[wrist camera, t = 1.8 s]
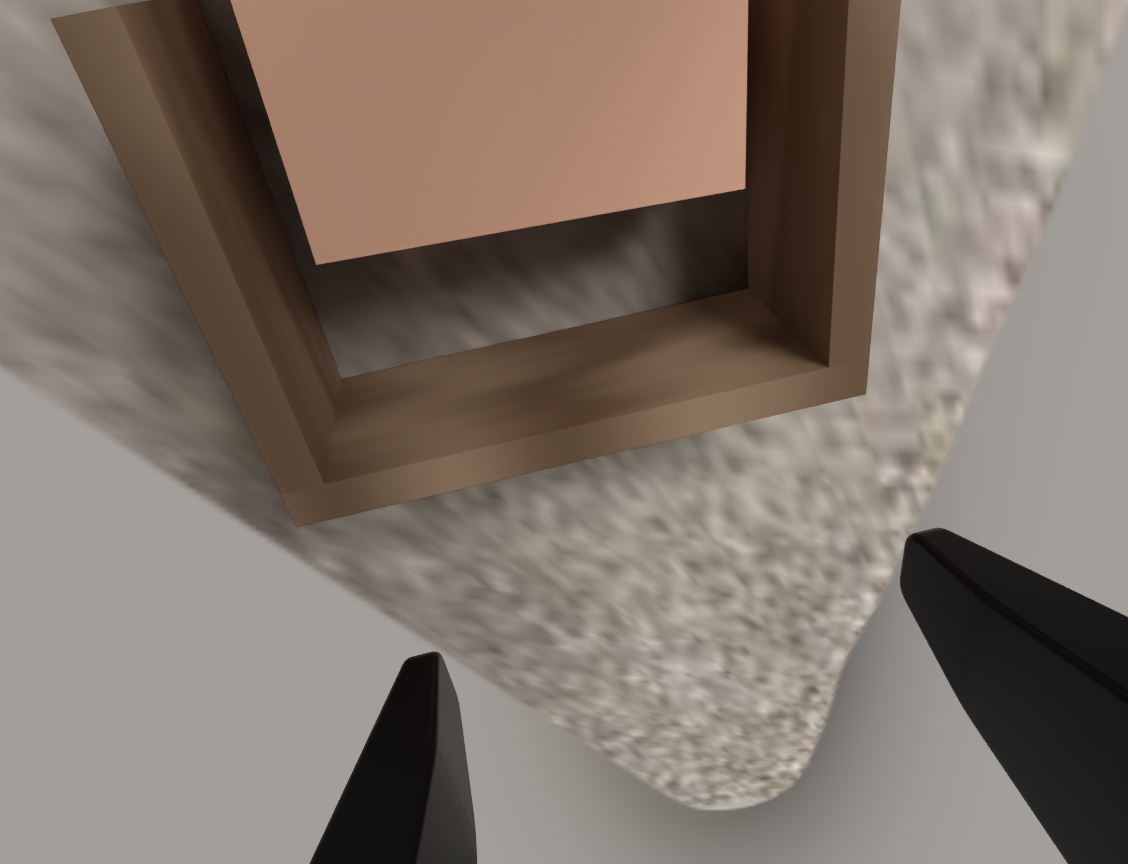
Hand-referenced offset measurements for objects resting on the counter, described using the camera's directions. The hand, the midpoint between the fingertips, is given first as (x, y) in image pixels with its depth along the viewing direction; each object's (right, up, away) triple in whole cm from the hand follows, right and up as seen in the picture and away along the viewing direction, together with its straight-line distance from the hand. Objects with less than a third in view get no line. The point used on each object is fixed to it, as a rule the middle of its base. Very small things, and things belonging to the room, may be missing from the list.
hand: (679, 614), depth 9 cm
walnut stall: (-3, +9, +10) cm, 13 cm away
